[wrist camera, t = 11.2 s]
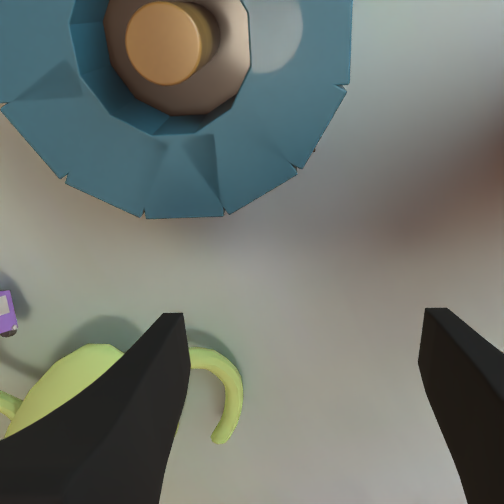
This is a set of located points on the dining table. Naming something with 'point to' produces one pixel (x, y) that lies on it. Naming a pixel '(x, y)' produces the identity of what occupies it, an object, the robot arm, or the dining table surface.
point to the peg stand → (179, 51)
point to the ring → (172, 127)
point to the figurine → (91, 368)
